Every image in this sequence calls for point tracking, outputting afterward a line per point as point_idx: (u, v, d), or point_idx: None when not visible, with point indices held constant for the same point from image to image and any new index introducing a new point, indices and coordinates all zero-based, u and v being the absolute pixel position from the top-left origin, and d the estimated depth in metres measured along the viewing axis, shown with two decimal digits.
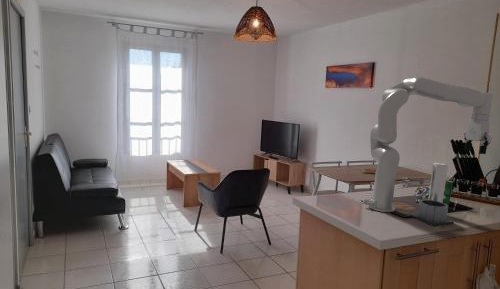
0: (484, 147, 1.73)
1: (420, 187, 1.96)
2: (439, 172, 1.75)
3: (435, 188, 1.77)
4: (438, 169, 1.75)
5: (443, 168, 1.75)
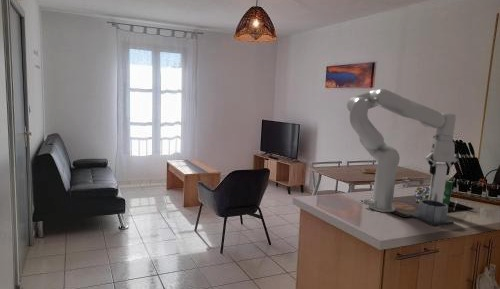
0: None
1: (420, 187, 1.96)
2: (439, 172, 1.75)
3: (435, 188, 1.77)
4: (438, 169, 1.75)
5: (443, 168, 1.75)
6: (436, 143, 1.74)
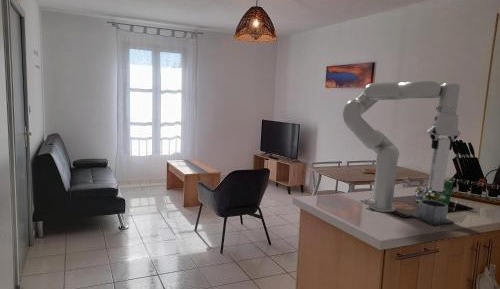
0: None
1: (420, 187, 1.96)
2: (442, 146, 1.64)
3: (437, 164, 1.66)
4: (441, 143, 1.64)
5: (446, 142, 1.63)
6: (439, 115, 1.63)
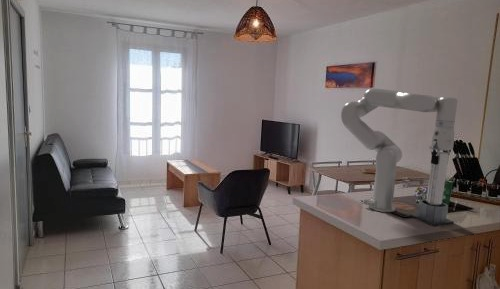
0: None
1: (420, 187, 1.96)
2: (443, 161, 1.62)
3: (439, 179, 1.63)
4: (442, 158, 1.61)
5: (446, 157, 1.62)
6: (441, 130, 1.59)
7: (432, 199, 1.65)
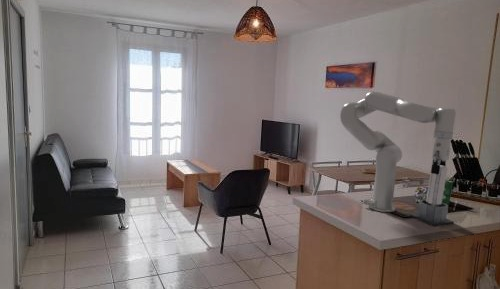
0: None
1: (420, 187, 1.96)
2: (443, 175, 1.62)
3: (439, 193, 1.64)
4: (443, 172, 1.62)
5: (446, 170, 1.63)
6: (443, 141, 1.59)
7: None
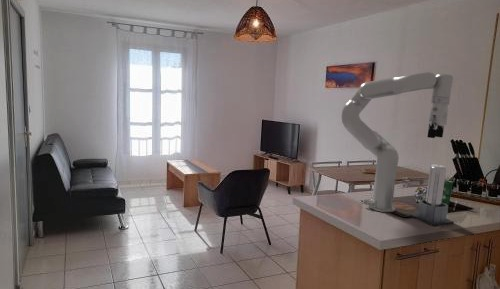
0: None
1: (420, 187, 1.96)
2: (442, 175, 1.63)
3: (438, 193, 1.64)
4: (442, 172, 1.62)
5: (445, 170, 1.63)
6: (440, 106, 1.64)
7: None
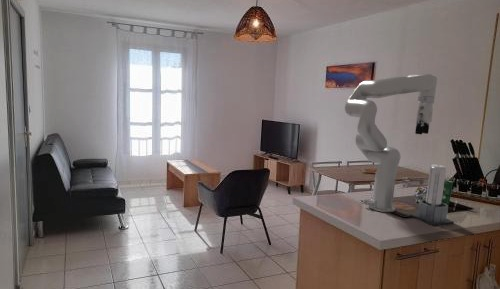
0: None
1: (420, 187, 1.96)
2: (442, 175, 1.63)
3: (438, 193, 1.64)
4: (442, 172, 1.62)
5: (445, 170, 1.63)
6: (426, 105, 1.79)
7: None
